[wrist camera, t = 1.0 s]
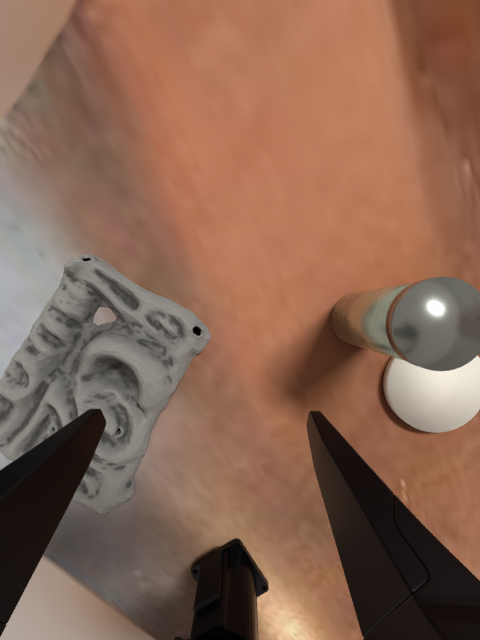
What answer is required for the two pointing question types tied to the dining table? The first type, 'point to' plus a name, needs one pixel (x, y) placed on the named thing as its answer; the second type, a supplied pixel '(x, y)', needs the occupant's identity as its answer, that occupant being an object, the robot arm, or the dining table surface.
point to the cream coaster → (432, 394)
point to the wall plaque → (98, 373)
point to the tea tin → (414, 322)
